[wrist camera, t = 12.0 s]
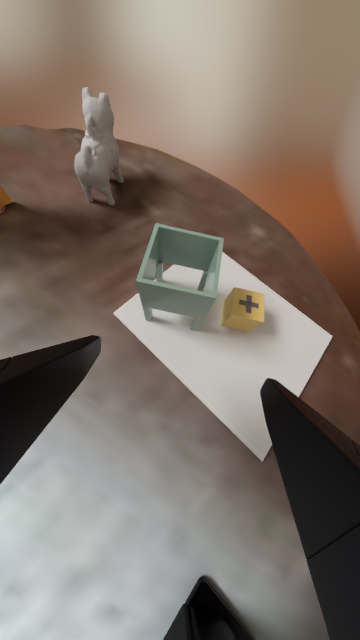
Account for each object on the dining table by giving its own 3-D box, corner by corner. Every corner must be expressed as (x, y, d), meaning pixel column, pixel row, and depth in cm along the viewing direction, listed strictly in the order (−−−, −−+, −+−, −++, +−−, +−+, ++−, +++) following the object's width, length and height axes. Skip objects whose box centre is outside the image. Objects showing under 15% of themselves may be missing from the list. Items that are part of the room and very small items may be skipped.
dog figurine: (129, 168, 35) (116, 83, 25) (114, 210, 30) (92, 126, 21) (103, 163, 35) (80, 75, 25) (84, 206, 30) (46, 118, 20)
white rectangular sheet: (330, 337, 26) (332, 336, 25) (260, 460, 19) (262, 461, 19) (205, 240, 30) (205, 238, 30) (113, 314, 24) (113, 313, 23)
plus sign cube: (248, 331, 24) (264, 321, 20) (221, 325, 24) (232, 314, 20) (249, 307, 26) (264, 293, 22) (223, 301, 26) (234, 286, 22)
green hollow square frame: (195, 331, 23) (216, 298, 15) (145, 320, 23) (136, 281, 14) (202, 288, 26) (223, 238, 17) (157, 278, 26) (155, 223, 17)
